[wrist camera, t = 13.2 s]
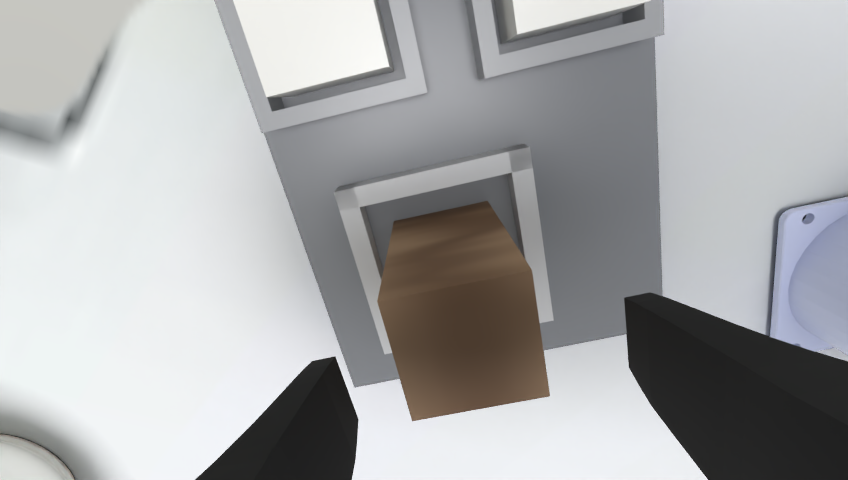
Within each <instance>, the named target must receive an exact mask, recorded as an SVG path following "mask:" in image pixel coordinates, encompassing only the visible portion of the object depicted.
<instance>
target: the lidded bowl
mask: <svg viewBox="0 0 848 480" xmlns="http://www.w3.org/2000/svg"><path fill="white" fill-rule="evenodd" d="M0 480H75V479H74V476H73V475H72V473H71V471H70V470H69V469H68V468H67V466H66V465H65V464H64V463H63V462H62V461H61V460H60V459H59V458H58V457H57V456H55V455H54V454H52V453H51V452H50V451H48V450H47V449H45V448H43V447H41V446H40V445H37V444H35V443H33V442H31V441H28V440H25V439H22V438H19V437H15V436H11V435H4V434H0Z"/></svg>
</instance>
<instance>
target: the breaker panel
mask: <svg viewBox="0 0 848 480" xmlns="http://www.w3.org/2000/svg"><path fill="white" fill-rule="evenodd" d="M214 1H215V4H216V7H217V9H218V12H219V15H220V18H221V21H222V23H223V26H224V29H225V32H226V35H227V37H228V40H229V43H230V46H231V49H232V51H233V54H234V57H235V60H236V62H237V65H238V68H239V71H240V74H241V76H242V79H243V82H244V85H245V88H246V90H247V93H248V96H249V99H250V102H251V104H252V107H253V110H254V113H255V116H256V118H257V121H258V124H259V127H260V130H261V132H262V133H264V134H265V137H266V140H267V143H268V146H269V148H270V151H271V154H272V157H273V160H274V162H275V165H276V168H277V171H278V174H279V176H280V179H281V182H282V185H283V188H284V191H285V193H286V196H287V199H288V202H289V205H290V207H291V210H292V213H293V216H294V219H295V221H296V224H297V227H298V230H299V233H300V236H301V238H302V241H303V244H304V247H305V250H306V252H307V255H308V258H309V261H310V264H311V266H312V269H313V272H314V275H315V278H316V281H317V283H318V286H319V289H320V292H321V295H322V297H323V300H324V303H325V306H326V309H327V311H328V314H329V317H330V320H331V323H332V325H333V328H334V331H335V334H336V337H337V340H338V342H339V345H340V348H341V351H342V354H343V356H344V359H345V362H346V365H347V368H348V370H349V373H350V376H351V379H352V382H353V385H354V387H359V386H364V385H370V384H375V383H380V382H385V381H390V380H395V379H400V377H399V374H398V371H397V367H396V364H395V360H394V357H393V354H392V350H391V347H390V343H389V340H388V337H387V333H386V330H385V326H384V323H383V320H382V316H381V313H380V310H379V306H378V303H377V300H378V295H379V290H380V285H381V281H382V276H383V271H384V266H385V261H386V257H387V252H388V247H389V242H390V237H391V233H392V228H393V223H394V221H396V220H401V219H406V218H410V217H415V216H420V215H424V214H429V213H433V212H438V211H443V210H447V209H452V208H457V207H461V206H466V205H471V204H475V203H480V202H484V201H488V202H489V204H490V205H491V207H492V208H493V210H494V211H495V213H496V215H497V216H498V218H499V219H500V221H501V222H502V224H503V226H504V227H505V229H506V230H507V232H508V233H509V235H510V236H511V238H512V240H513V241H514V243H515V244H516V246H517V247H518V249H519V250H520V252H521V254H522V255H523V257H524V258H525V260H526V261H527V263H528V265H529V266H530V268H531V269H532V273H533V280H534V287H535V294H536V301H537V308H538V315H539V322H540V330H541V337H542V344H543V350H548V349H553V348H558V347H563V346H568V345H573V344H578V343H583V342H588V341H593V340H599V339H604V338H609V337H614V336H619V335H624V334H627V332H626V318H625V304H624V298H625V297H630V296H634V295H639V294H644V293H649V292H651V293H654V294H657V295H660V296H662V269H661V236H660V203H659V169H658V136H657V103H656V70H655V37H656V36H660V35H664V5H663V0H651V1H649V2H647V3H644V4H642V5H639V6H637V7H634V8H632V9H630V10H627V11H625V12H622V13H620V14H617V15H615V16H612V17H608V18H604V19H600V20H596V21H592V22H588V23H584V24H580V25H576V26H572V27H568V28H564V29H560V30H556V31H552V32H548V33H544V34H540V35H536V36H532V37H528V38H524V39H520V40H516V41H512V42H508V43H504V44H501V38H500V31H499V24H498V17H497V11H496V4H495V0H214Z"/></svg>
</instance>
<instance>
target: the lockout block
mask: <svg viewBox="0 0 848 480" xmlns="http://www.w3.org/2000/svg"><path fill="white" fill-rule="evenodd" d="M377 303H378V306H379V310H380V313H381V316H382V320H383V323H384V326H385V330H386V333H387V337H388V340H389V343H390V347H391V350H392V354H393V357H394V360H395V364H396V367H397V371H398V374H399V377H400V381H401V384H402V388H403V391H404V394H405V398H406V401H407V405H408V408H409V411H410V415H411V418H412V421H416V420H421V419H427V418H432V417H438V416H443V415H449V414H454V413H460V412H465V411H471V410H476V409H482V408H487V407H493V406H498V405H504V404H509V403H515V402H520V401H526V400H531V399H537V398H542V397H548V396H550V393H549V386H548V379H547V372H546V365H545V358H544V351H543V344H542V337H541V330H540V322H539V315H538V308H537V301H536V294H535V287H534V280H533V273H532V269H531V268H530V266H529V265H528V263H527V261H526V260H525V258H524V257H523V255H522V254H521V252H520V250H519V249H518V247H517V246H516V244H515V243H514V241H513V240H512V238H511V236H510V235H509V233H508V232H507V230H506V229H505V227H504V226H503V224H502V222H501V221H500V219H499V218H498V216H497V215H496V213H495V211H494V210H493V208H492V207H491V205H490V204H489V202H488V201H484V202H480V203H475V204H471V205H466V206H461V207H457V208H452V209H447V210H443V211H438V212H433V213H429V214H424V215H420V216H415V217H410V218H406V219H401V220H396V221H394V223H393V228H392V233H391V237H390V242H389V247H388V252H387V257H386V261H385V266H384V271H383V276H382V281H381V285H380V290H379V295H378V300H377Z"/></svg>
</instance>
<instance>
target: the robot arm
mask: <svg viewBox="0 0 848 480" xmlns="http://www.w3.org/2000/svg"><path fill="white" fill-rule="evenodd" d="M805 215H806V218H805V219H804V220H803V221H802V219H803V217H804V216H805ZM624 304H625V318H626V332H627V346H628V360H629V368H630V370H631V372H632V374H633V375H634V377H635V379H636V381H637V382H638V384H639V386H640V388H641V389H642V391H643V392H644V394H645V396H646V397H647V399H648V401H649V402H650V404H651V406H652V407H653V408H654V410H655V411H656V412H657V414H658V415H659V416H660V418H661V419H662V420H663V422H664V423H665V424H666V425H667V427H668V428H669V429H670V431H671V432H672V433H673V435H674V436H675V437H676V439H677V440H678V441H679V442H680V444H681V445H682V446H683V448H684V449H685V450H686V452H687V453H688V454H689V455H690V457H691V458H692V459H693V461H694V462H695V463H696V464H697V466H698V467H699V468H700V470H701V471H702V472H703V474H704V475H705V476H706V477H707V479H708V480H848V361H844V360H840V359H837V358H834V357H831V356H827V355H824V354H821V353H817V352H814V351H819V350H825V349H830V348H836V349H838V350H840V351H841V352H843V353H845V354H846V355H848V197H843V198H839V199H834V200H829V201H825V202H820V203H815V204H810V205H806V206H801V207H796V208H792V209H789V210H786V211H785V212H784V213H782V215H781V216H780V219H779V224H778V237H777V251H776V264H775V277H774V290H773V303H772V317H771V330H770V337H769V336H766V335H764V334H761V333H758V332H755V331H752V330H750V329H747V328H744V327H742V326H739V325H736V324H734V323H731V322H728V321H726V320H723V319H720V318H718V317H715V316H713V315H710V314H707V313H705V312H702V311H700V310H697V309H695V308H692V307H690V306H687V305H684V304H682V303H679V302H677V301H674V300H671V299H669V298H666V297H663V296H660V295H657V294H654V293H651V292H649V293H644V294H639V295H634V296H630V297H625V298H624ZM357 431H358V417H357V415H356V412H355V409H354V406H353V404H352V401H351V398H350V396H349V393H348V390H347V387H346V385H345V382H344V379H343V376H342V374H341V371H340V368H339V366H338V363H337V360H336V357H331V358H326V359H321V360H316V361H312V362H311V363H310V364H309V365H308V366H307V367H306V368H305V369H304V370H303V371H302V372H301V373H300V374H299V375H298V376H297V377H296V378H295V379H294V380H293V381H292V382H291V383H290V384H289V386H288V387H287V388H286V389H285V390H284V391H283V392H282V393H281V394H280V395H279V396H278V398H277V399H276V400H275V401H274V402H273V403H272V404H271V405H270V406H269V407H268V408H267V409H266V410H265V411H264V413H263V414H262V415H261V416H260V417H259V418H258V419H257V420H256V421H255V422H254V423H253V424H252V425H251V426H250V427H249V428H248V429H247V430H246V431H245V432H244V433H243V434H242V435H241V436H240V437H239V438H238V439H237V440H236V441H235V442H234V443H233V444H232V445H231V446H230V447H229V448H228V449H227V450H226V451H225V452H224V453H223V454H222V455H221V456H220V457H219V458H218V459H217V460H216V461H215V462H214V463H213V464H212V465H211V466H210V467H209V468H207V469H206V470H205V471H204V472H203V473H202V474H201V475H200V476H199V477H198V478H197V479H195V480H352V475H353V469H354V464H355V457H356V446H357Z"/></svg>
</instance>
